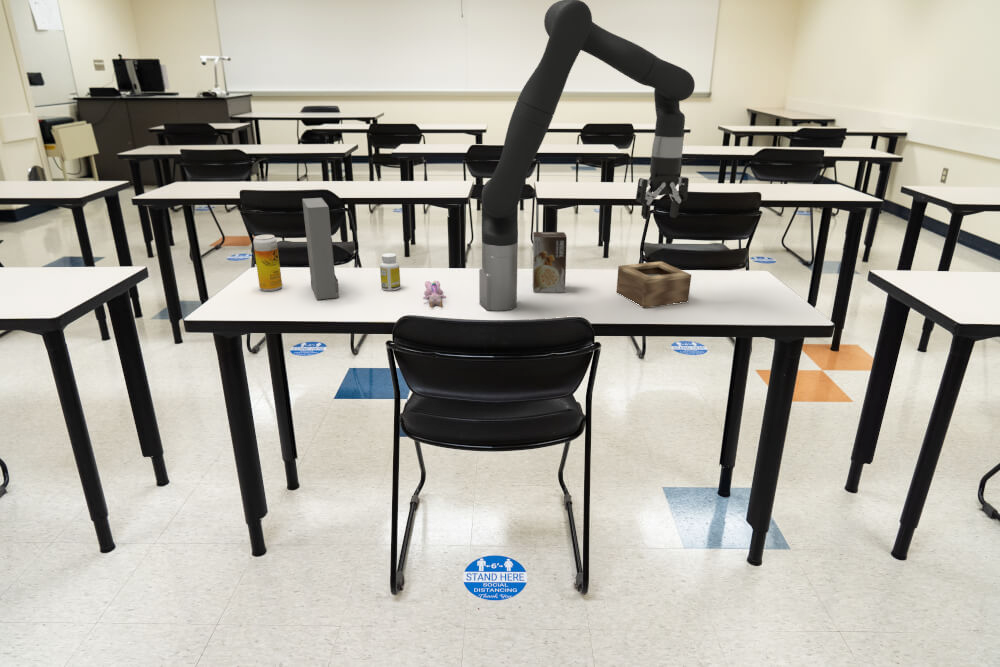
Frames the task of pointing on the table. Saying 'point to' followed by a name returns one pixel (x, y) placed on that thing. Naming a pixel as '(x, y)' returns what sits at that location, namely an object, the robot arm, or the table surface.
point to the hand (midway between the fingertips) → (659, 217)
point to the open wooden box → (653, 284)
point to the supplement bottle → (389, 272)
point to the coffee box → (549, 261)
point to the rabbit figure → (433, 293)
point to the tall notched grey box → (320, 248)
